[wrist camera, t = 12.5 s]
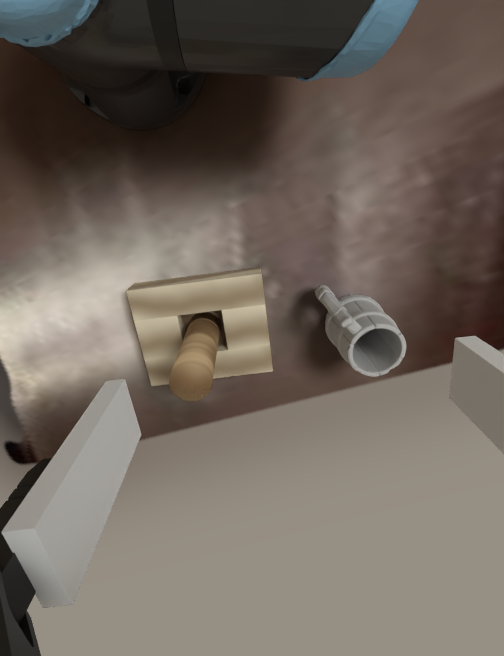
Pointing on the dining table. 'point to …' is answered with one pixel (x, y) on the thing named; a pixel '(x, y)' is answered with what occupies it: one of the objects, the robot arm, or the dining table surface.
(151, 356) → the wooden block with hole
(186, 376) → the leg
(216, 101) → the dining table surface
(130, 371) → the dining table surface
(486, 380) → the robot arm
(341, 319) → the mug
